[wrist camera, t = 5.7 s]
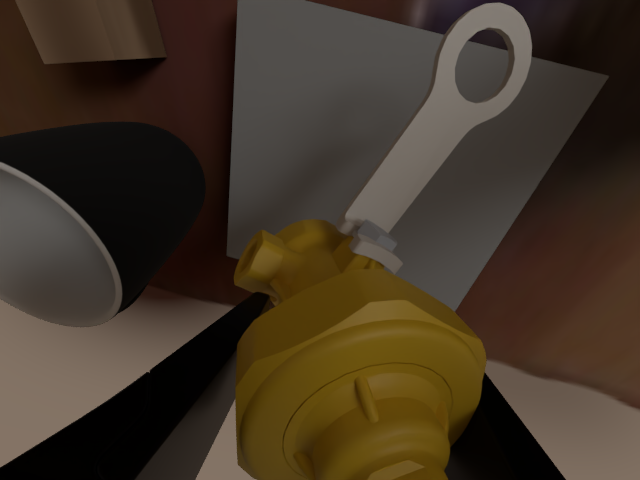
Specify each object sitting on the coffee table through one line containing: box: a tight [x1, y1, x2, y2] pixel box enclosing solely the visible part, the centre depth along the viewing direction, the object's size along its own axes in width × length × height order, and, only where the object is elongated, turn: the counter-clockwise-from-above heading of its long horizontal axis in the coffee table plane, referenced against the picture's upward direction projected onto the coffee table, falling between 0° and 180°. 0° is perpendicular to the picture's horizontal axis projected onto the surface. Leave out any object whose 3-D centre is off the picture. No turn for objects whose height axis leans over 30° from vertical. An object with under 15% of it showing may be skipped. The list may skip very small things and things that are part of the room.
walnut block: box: [15, 0, 167, 64], centre depth 15 cm, size 4×4×4 cm
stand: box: [227, 0, 609, 312], centre depth 18 cm, size 16×15×2 cm
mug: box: [0, 122, 205, 327], centre depth 18 cm, size 12×9×10 cm
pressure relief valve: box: [234, 3, 532, 480], centre depth 8 cm, size 6×12×10 cm, turn 147°
